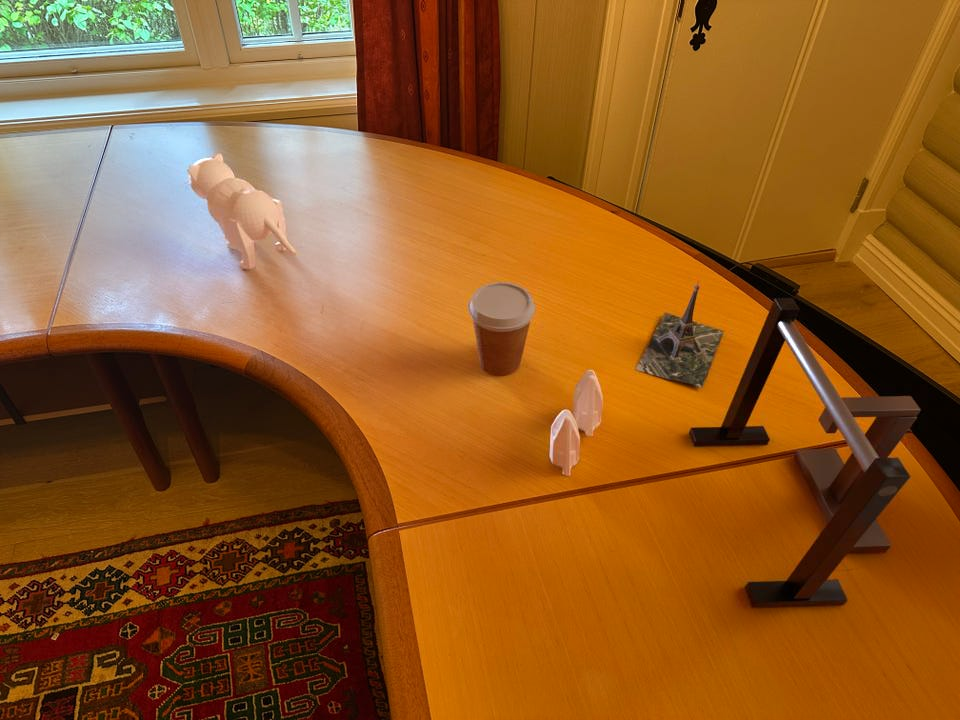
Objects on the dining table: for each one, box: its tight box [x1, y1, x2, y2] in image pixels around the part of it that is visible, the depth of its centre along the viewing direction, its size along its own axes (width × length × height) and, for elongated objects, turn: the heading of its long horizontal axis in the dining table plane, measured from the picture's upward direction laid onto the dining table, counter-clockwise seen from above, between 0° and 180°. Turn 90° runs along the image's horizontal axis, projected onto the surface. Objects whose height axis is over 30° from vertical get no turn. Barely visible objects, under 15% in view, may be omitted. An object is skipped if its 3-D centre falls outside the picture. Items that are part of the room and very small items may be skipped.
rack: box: [688, 297, 911, 609], centre depth 66 cm, size 24×10×23 cm, turn 2°
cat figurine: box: [180, 152, 298, 271], centre depth 110 cm, size 25×10×17 cm, turn 56°
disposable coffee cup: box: [467, 281, 536, 377], centre depth 89 cm, size 10×10×12 cm
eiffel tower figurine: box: [634, 279, 725, 388], centre depth 90 cm, size 15×10×13 cm
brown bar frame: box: [793, 395, 922, 555], centre depth 69 cm, size 10×14×18 cm
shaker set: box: [548, 369, 604, 477], centre depth 78 cm, size 12×4×11 cm, turn 148°
